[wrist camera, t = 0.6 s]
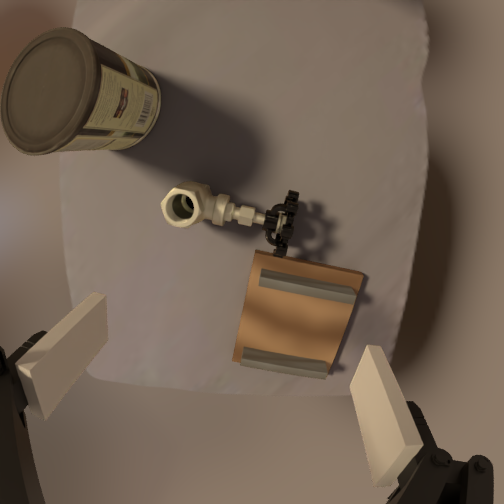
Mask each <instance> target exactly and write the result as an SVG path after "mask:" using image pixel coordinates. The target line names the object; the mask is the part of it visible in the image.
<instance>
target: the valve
mask: <svg viewBox="0 0 504 504" xmlns="http://www.w3.org/2000/svg"><path fill="white" fill-rule="evenodd" d="M186 195H187V196H188V197H190V199H191V200H192V202H193V204H194V210H193V209H191V208H190V207H189V206H188V205H187V203H186ZM287 195H288V196H286V198H285V201H284V204H277V205H275V206H273V207H272V209H271V210H266V214H261V213H257V212H255V209H256V208H254V207H249V206H245V205H242V206H241V208H239V207H236V206H235V203H231V202H230V196H229V195H224V194H219V195H218V197H217V196H212V193H211V190H210V187H209V185H205V184H200V183H197V182H193V181H187V182H183V183H181V184H179V185H177V186H176V187H174V188H173V189H172V190H171V191H170V192H169V194H168V195H167V196H166V197H165V199H164V200H163V201H162V202H161V208H162V211H163V214H164V217H165V219H166V221H167V224H169V225H173V226H177V227H182V228H189V227H190V226H191V225H193V224H197V223H199V222H201V221H202V220H204V219H209V220H212V223H213V224H215V225H220V226H223V225H224V223H225V221H229V222H230V221H232V219H236V220H238V224H242V225H247V226H252V223H258V224H262V225H263V227H262V230H265V231H266V234H265V236H266V240H267V241H268V243H270V244H271V245H273V246H277V247H276V249H274V251H273V256H274V257H278V258H283V257H285V256H286V253H287V249H288V245H287V243H288V239H291V237H292V234H293V230H294V227H293V226H292V224H293V219H294V216H295V215H296V214H297V211H298V205H299V204H298V203H297V201H298V197H299V192H296V191H292V190H289V191H288V194H287ZM278 211H284V212H285V213H279V212H278ZM272 232H273V233H277V234H276V238H275V239H273V238H272V236H271V233H272ZM278 232H279V233H280V234H278Z"/></svg>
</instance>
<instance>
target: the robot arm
mask: <svg viewBox="0 0 504 504" xmlns="http://www.w3.org/2000/svg"><path fill="white" fill-rule="evenodd" d="M107 341H108V326H107V301H106V295H104V294H100V293H96V292H93V293H92V294H91V295H89V296H88V297H87V298H86V299H85V300H84V301H82V302H81V303H80V304H79V305H78V306H77V307H76V308H74V309H73V310H72V311H71V312H70V313H69V314H68V315H67V316H66V317H64V318H63V319H62V320H61V321H60V322H59V323H58V324H57V325H55V326H54V327H53V328H52V329H51V330H50V331H49V332H46V331H41V332H38V333H36V334H34V335H33V336H32V337H31V338H29V339H28V340H27V342H25V343H24V344H23V345H22V347H19V348H18V349H17V350H16V351H15V352H14V353H13V354H12V355H11V356H10V357H8V358H7V359H6V356H5V352H4V349H3V348H2V347H1V346H0V504H45V501H44V497H43V494H42V490H41V487H40V483H39V479H38V475H37V471H36V467H35V463H34V459H33V454H32V449H31V444H30V439H29V434H28V428H27V421H26V416H25V412H24V409H25V408H26V406H27V405H28V406H29V408H30V411H31V414H33V415H35V416H37V417H39V418H41V419H43V420H45V421H46V420H47V418H48V417H49V416H50V414H51V413H52V412H53V410H54V409H55V408H56V406H57V405H58V404H59V402H60V401H61V400H62V398H63V397H64V396H65V394H66V393H67V392H68V391H69V389H70V388H71V387H72V385H73V384H74V383H75V381H76V380H77V379H78V377H79V376H80V375H81V374H82V372H83V371H84V370H85V369H86V367H87V366H88V365H89V364H90V362H91V361H92V360H93V359H94V357H95V356H96V355H97V354H98V352H99V351H100V350H101V349H102V347H103V346H104V345H105V344H106V342H107ZM350 390H351V394H352V398H353V401H354V405H355V409H356V413H357V417H358V421H359V425H360V429H361V434H362V438H363V442H364V446H365V451H366V455H367V459H368V464H369V468H370V472H371V477H372V482H373V487H384V486H391V485H392V483H393V482H394V481H395V480H396V479H398V483H399V486H398V487H397V488H396V489H395V490H394V492H393V493H392V494H391V495H390V496H389V497H388V499H389V500H388V502H387V503H386V504H493V494H494V493H493V492H494V489H493V488H494V482H493V481H494V480H493V479H494V477H493V465H492V463H491V462H490V460H489V459H488V458H486V457H485V456H482V455H475V456H472V457H471V459H470V460H469V461H468V462H461V461H455V460H453V459H452V457H451V455H450V454H449V453H448V452H446V451H445V450H443V449H440V448H438V447H437V445H436V443H435V441H434V438H433V436H432V434H431V431H430V429H429V427H428V425H427V422H426V420H425V419H424V416H423V414H422V411H421V409H420V408H419V407H418V406H417V405H416V404H415V403H414V402H413V401H405V399H404V397H403V394H402V392H401V390H400V388H399V385H398V383H397V381H396V378H395V376H394V374H393V372H392V370H391V368H390V365H389V363H388V361H387V359H386V357H385V355H384V352H383V350H382V348H381V346H375V345H367V346H366V348H365V351H364V353H363V356H362V358H361V361H360V363H359V365H358V368H357V370H356V373H355V375H354V377H353V380H352V382H351V384H350Z"/></svg>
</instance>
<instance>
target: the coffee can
mask: <svg viewBox="0 0 504 504" xmlns="http://www.w3.org/2000/svg"><path fill="white" fill-rule="evenodd" d="M0 104H1V106H0V114H1V121H2V126H3V129H4V132H5V134H6V137H7V139H8V140H9V142H10V143H11V144H12V145H13V147H15V148H16V149H17V150H18V151H20V152H22V153H24V154H27V155H44V154H48V153H52V152H64V151H81V150H105V149H109V150H121V149H126V148H129V147H131V146H133V145H135V144H137V143H138V142H140V141H141V140H142V139H143V138H145V137H146V136H147V134H148V133H149V132H150V131H151V129H152V128H153V127H154V124H155V122H156V120H157V118H158V115H159V112H160V107H161V92H160V88H159V85H158V82H157V81H156V79H155V77H154V76H153V75H152V74H151V73H150V72H149V71H148V70H147V69H146V68H144V67H142V66H140V65H137V64H135V63H133V62H132V61H130V60H128V59H126V58H125V57H123V56H121V55H119V54H117V53H115V52H113V51H112V50H110V49H108V48H106V47H104V46H102V45H100V44H99V43H97V42H95V41H93V40H91V39H89V38H88V37H87V36H86V35H84V34H83V33H81V32H79V31H77V30H75V29H72V28H66V27H63V28H62V27H61V28H55V29H52V30H49V31H47V32H44V33H42V34H41V35H39V36H38V37H36V38H35V39H33V40H32V41H31V42H30V43H29V44H28V45H27V46H26V47H25V48H24V49H23V50H22V51H21V52H20V54H19V55H18V56H17V58H16V59H15V61H14V62H13V64H12V66H11V68H10V70H9V72H8V75H7V77H6V80H5V83H4V86H3V90H2V95H1V103H0Z"/></svg>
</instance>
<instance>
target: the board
mask: <svg viewBox="0 0 504 504" xmlns="http://www.w3.org/2000/svg"><path fill="white" fill-rule="evenodd" d="M363 276H364V275H363V274H362V273H361V272H359V271H354V270H350V269H345V268H340V267H335V266H331V265H326V264H321V263H317V262H312V261H307V260H302V259H298V258H293V257H288V256H285V257H283V258H278V257H274V256H273V253H269V252H264V251H260V250H255V255H254V259H253V264H252V269H251V273H250V278H249V283H248V288H247V292H246V297H245V302H244V307H243V311H242V316H241V321H240V325H239V330H238V335H237V339H236V344H235V349H234V354H233V358H232V361H234V362H239V363H241V364H240V365H241V366H246V367H251V368H256V369H262V370H267V371H273V372H279V373H284V374H291V375H297V376H303V377H310V378H317V379H324V380H325V379H326V377H327V375H328V373H329V370H330V368H331V365H332V363H333V360H334V358H335V355H336V353H337V350H338V348H339V345H340V342H341V340H342V337H343V334H344V332H345V329H346V326H347V323H348V321H349V318H350V315H351V312H352V309H353V306H354V304H355V301H356V298H357V295H358V292H359V289H360V286H361V283H362V279H363Z"/></svg>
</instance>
